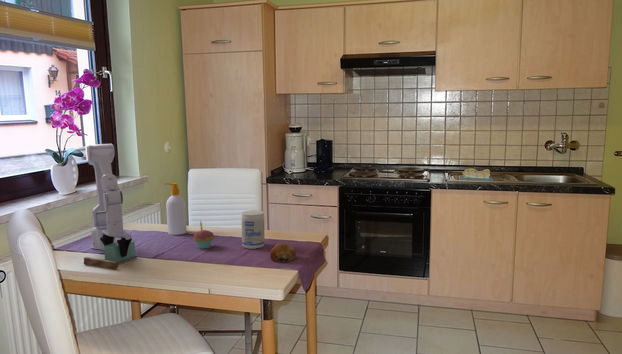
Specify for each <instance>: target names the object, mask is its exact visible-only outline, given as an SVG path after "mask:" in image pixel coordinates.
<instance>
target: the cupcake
mask: <svg viewBox="0 0 622 354" xmlns="http://www.w3.org/2000/svg"><path fill="white" fill-rule="evenodd" d="M199 225H200V230H199V231H197V232H195V233H194V234H193V240H194V241H195V243H196V245H197V248H199V249H208V248H211V243H212V241H213V240H214V238H215V236H214V233H213V232H212V231H210V230H206V229H203V222H202V220H200V222H199Z"/></svg>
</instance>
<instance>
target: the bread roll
mask: <svg viewBox="0 0 622 354" xmlns="http://www.w3.org/2000/svg"><path fill="white" fill-rule="evenodd" d="M269 253H270V260H271V261H272V262H275V263H288V262H292V261H294V259H296V255H297V254H296V250H295V247H294V246H292V245H291V244H288V243H286V242H280V243H277V244H275V245H274V247H273V248H271V250H270V252H269Z"/></svg>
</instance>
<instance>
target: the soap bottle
mask: <svg viewBox="0 0 622 354" xmlns="http://www.w3.org/2000/svg"><path fill="white" fill-rule="evenodd" d="M164 185H165V186H166V185H169V186H172V187H171V188H172V189H171V190H170V191H171V192H170V193H171V196H170V197H168V199H167V200H166V205H165V207H166V222H167V224H166V225H167V227H166V228H167V233H168V235H170V236H182V235H184V234H187V232H188V231H187V229H188V227H187V210H186V201H185V199H184V198H183V196H182V195H180V189H179V187H178V183H177V182H173V183H172V182H164Z"/></svg>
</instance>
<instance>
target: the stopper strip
mask: <svg viewBox="0 0 622 354" xmlns="http://www.w3.org/2000/svg"><path fill="white" fill-rule="evenodd" d="M83 264H84V265H88V266H94V267H99V268H105V269H110V268H111V270H118V269H119V265H118V262H115V261H109V260H103V259H102V258H96V257H90V256H85V257H83Z"/></svg>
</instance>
